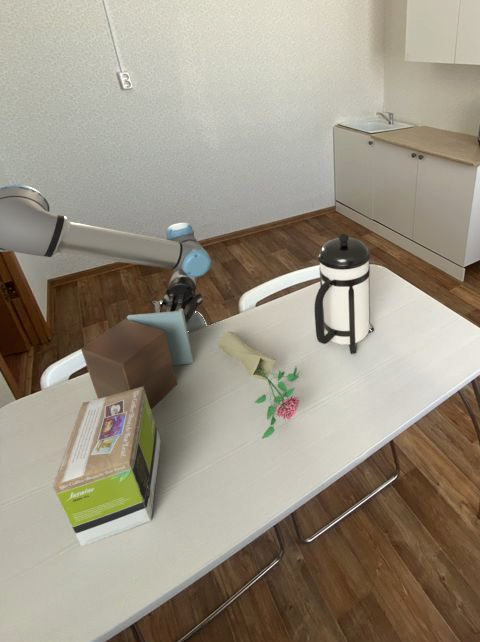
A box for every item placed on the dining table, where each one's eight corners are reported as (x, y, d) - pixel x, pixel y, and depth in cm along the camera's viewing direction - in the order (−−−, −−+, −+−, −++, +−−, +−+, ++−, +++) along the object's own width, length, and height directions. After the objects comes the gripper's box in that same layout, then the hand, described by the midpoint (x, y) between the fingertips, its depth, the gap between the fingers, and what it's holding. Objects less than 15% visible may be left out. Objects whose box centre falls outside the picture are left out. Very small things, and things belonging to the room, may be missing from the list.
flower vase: (247, 369, 101) (327, 433, 75) (200, 381, 93) (271, 458, 67) (250, 324, 101) (331, 373, 75) (204, 333, 93) (275, 390, 67)
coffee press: (312, 322, 107) (305, 225, 97) (368, 314, 110) (367, 219, 100) (318, 368, 92) (310, 257, 81) (383, 357, 94) (383, 249, 84)
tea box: (102, 459, 71) (81, 400, 66) (162, 441, 75) (146, 383, 69) (79, 550, 58) (50, 485, 53) (152, 523, 61) (131, 459, 56)
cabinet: (139, 370, 92) (124, 318, 87) (177, 384, 88) (164, 331, 82) (99, 403, 83) (80, 348, 78) (139, 420, 79) (122, 363, 74)
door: (145, 360, 94) (131, 310, 89) (195, 355, 96) (185, 305, 91) (140, 368, 92) (126, 317, 87) (192, 363, 93) (181, 312, 88)
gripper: (207, 294, 116) (197, 348, 94) (161, 301, 113) (139, 358, 91) (203, 272, 113) (191, 323, 91) (155, 279, 110) (131, 333, 89)
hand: (165, 340), depth 91 cm, fingers closed
